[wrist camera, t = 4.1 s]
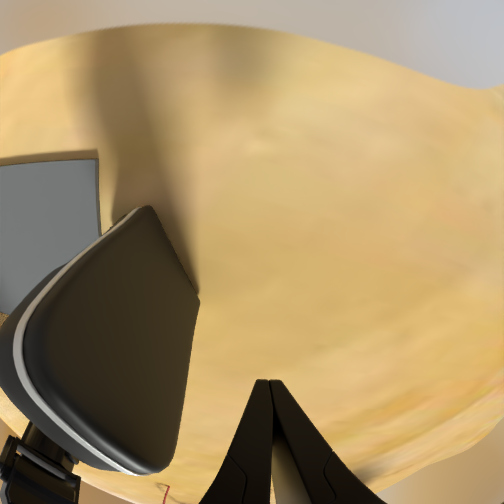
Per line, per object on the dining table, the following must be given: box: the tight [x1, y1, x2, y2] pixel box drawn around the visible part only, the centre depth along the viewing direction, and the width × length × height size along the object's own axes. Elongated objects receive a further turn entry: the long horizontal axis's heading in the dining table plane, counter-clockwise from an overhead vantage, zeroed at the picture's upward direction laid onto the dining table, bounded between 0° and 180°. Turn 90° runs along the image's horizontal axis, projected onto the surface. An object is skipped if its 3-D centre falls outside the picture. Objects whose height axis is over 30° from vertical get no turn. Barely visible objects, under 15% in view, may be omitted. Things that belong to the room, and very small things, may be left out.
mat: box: [0, 159, 102, 315], centre depth 15 cm, size 16×12×1 cm
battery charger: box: [0, 205, 200, 476], centre depth 11 cm, size 7×4×11 cm, turn 20°
